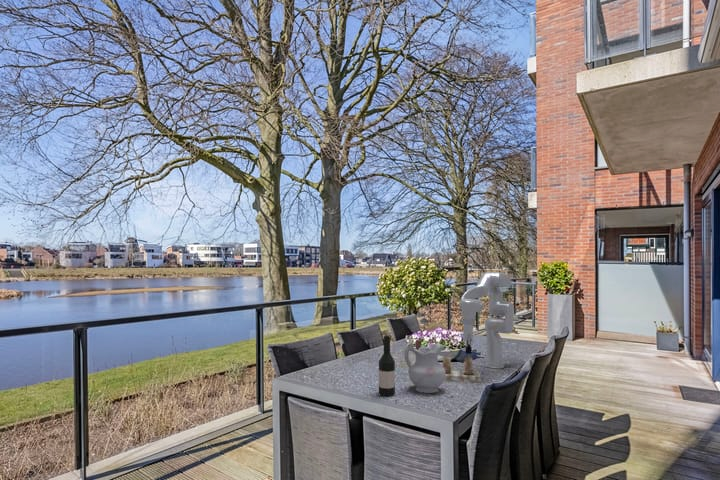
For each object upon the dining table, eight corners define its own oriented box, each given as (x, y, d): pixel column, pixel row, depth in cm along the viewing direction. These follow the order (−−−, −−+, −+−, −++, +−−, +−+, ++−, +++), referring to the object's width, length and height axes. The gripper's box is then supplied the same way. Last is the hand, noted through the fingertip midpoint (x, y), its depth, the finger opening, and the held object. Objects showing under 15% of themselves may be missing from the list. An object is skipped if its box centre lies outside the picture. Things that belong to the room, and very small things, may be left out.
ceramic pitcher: (415, 399, 214) (418, 350, 214) (397, 386, 232) (399, 340, 231) (451, 394, 223) (453, 347, 222) (431, 382, 241) (433, 338, 240)
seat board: (478, 376, 253) (478, 356, 253) (480, 382, 241) (480, 361, 241) (437, 374, 257) (437, 354, 258) (437, 380, 245) (437, 359, 246)
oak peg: (472, 378, 250) (472, 357, 250) (473, 380, 245) (473, 359, 246) (464, 377, 251) (464, 357, 251) (464, 380, 246) (464, 358, 247)
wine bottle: (377, 392, 223) (377, 334, 225) (393, 391, 224) (393, 333, 225) (379, 397, 215) (379, 336, 216) (396, 396, 215) (396, 336, 217)
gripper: (461, 319, 257) (461, 350, 256) (462, 323, 243) (462, 355, 242) (473, 320, 256) (474, 351, 255) (476, 323, 241) (476, 356, 240)
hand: (468, 353), depth 248 cm, fingers closed
